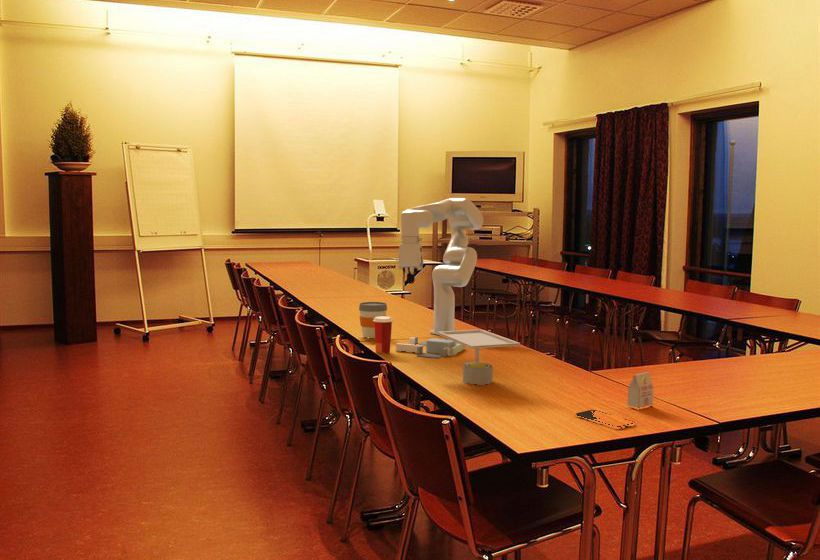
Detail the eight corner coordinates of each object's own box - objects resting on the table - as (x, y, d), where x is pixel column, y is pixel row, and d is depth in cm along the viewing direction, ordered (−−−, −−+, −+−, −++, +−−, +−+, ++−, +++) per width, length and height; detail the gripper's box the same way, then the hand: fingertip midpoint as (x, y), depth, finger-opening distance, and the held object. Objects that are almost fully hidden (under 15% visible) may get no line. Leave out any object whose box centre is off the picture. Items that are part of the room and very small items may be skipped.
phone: (593, 409, 203) (636, 422, 191) (593, 413, 203) (636, 426, 191) (573, 413, 198) (617, 427, 186) (573, 417, 199) (617, 431, 186)
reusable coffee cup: (386, 339, 313) (386, 305, 312) (357, 339, 313) (357, 305, 312) (387, 334, 326) (387, 302, 324) (360, 334, 326) (360, 301, 324)
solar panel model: (436, 374, 248) (436, 331, 246) (481, 370, 254) (481, 329, 252) (470, 393, 222) (471, 345, 221) (519, 389, 228) (520, 342, 226)
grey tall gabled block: (627, 407, 208) (628, 373, 207) (641, 404, 212) (643, 371, 211) (638, 410, 205) (639, 376, 204) (652, 407, 209) (654, 373, 208)
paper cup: (393, 350, 288) (393, 316, 287) (391, 354, 281) (391, 319, 280) (374, 350, 289) (374, 315, 288) (371, 353, 282) (371, 318, 280)
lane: (415, 341, 308) (415, 335, 308) (469, 346, 299) (469, 339, 299) (389, 354, 281) (389, 346, 281) (447, 359, 273) (447, 351, 272)
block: (433, 350, 291) (433, 338, 290) (455, 353, 286) (455, 340, 285) (426, 352, 286) (426, 340, 285) (448, 355, 281) (448, 343, 280)
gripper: (429, 239, 304) (430, 282, 306) (396, 239, 309) (397, 281, 311) (424, 241, 297) (424, 285, 299) (390, 240, 302) (391, 283, 304)
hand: (410, 283), depth 305 cm, fingers closed
